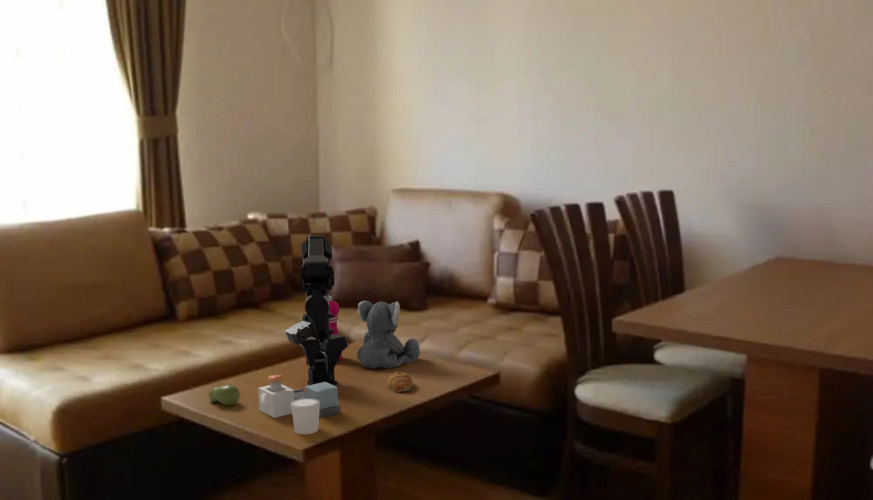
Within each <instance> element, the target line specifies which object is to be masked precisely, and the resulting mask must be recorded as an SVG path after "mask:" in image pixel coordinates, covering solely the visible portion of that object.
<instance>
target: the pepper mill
mask: <svg viewBox="0 0 873 500" xmlns="http://www.w3.org/2000/svg"><path fill="white" fill-rule="evenodd" d="M340 309H341V308H340V305H339V303H338V302H336V300H335V301H334V300H333V297H332V296H331V295H329V313H331V314H333V318H330V329H332V330H333V333H334V334H332V335H336V334H338V335H340V333H339V330H338V322H339V315H338V314H339V313H340ZM342 359H343V352H342V353H341V355H340V357H339V361H341V360H342Z"/></svg>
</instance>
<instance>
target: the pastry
mask: <svg viewBox="0 0 873 500" xmlns="http://www.w3.org/2000/svg"><path fill="white" fill-rule="evenodd" d="M386 384H387V386H388V388H389V389H390V390H391V391H393V392H397V393H401V392H409V391H410V390H411V389H412V387H413V380H412V377H411V376H410V374H407V373H406V372H404V371H396V372H393V373H391V375H389V377H388V378H387V382H386Z"/></svg>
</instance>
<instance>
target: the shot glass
mask: <svg viewBox="0 0 873 500" xmlns="http://www.w3.org/2000/svg"><path fill="white" fill-rule="evenodd" d="M291 408H292V414H291V415H292V421H293V427H294V428H293V429H294V432H295V433H296V434H298V435H312V434H315V433H317V432H318V431H319V424H320V421H319V420H320V416H319V408H320V402H319V400H317V399H312V398H304V399H298V400H295V401H293V402H292V403H291Z"/></svg>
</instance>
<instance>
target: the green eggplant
mask: <svg viewBox="0 0 873 500" xmlns="http://www.w3.org/2000/svg"><path fill="white" fill-rule="evenodd" d="M240 393H241V392H240V390H239V389H238V387H237V386H235V385H233V384H224V385H220V386H216V387H213V388H212V389H211V390H210V391H209V392H208V397H209V401H210V403H211V404H212V403H215V402H219V403H220V404H222V405H224V406H228V407H229V406H233V405H235V404H237V403H238V402H239V400H240V397H241V394H240Z"/></svg>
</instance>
